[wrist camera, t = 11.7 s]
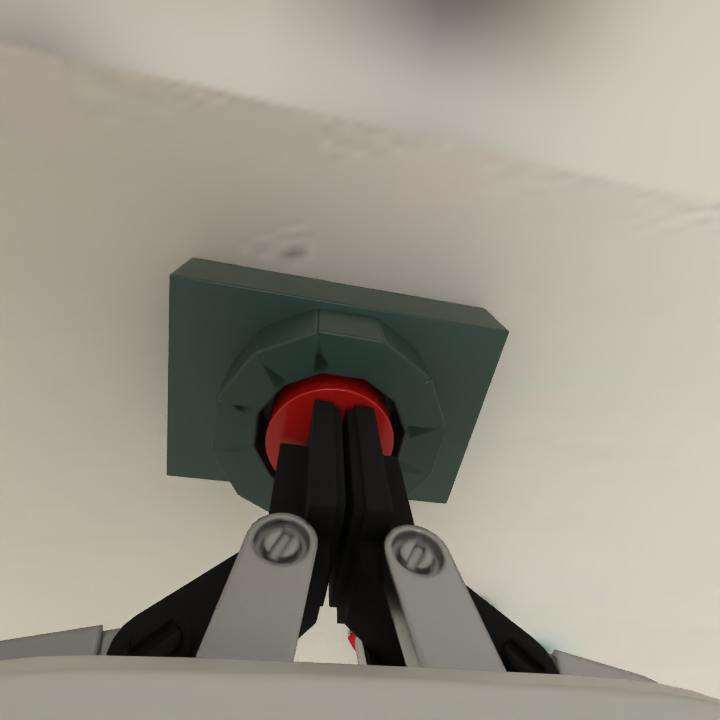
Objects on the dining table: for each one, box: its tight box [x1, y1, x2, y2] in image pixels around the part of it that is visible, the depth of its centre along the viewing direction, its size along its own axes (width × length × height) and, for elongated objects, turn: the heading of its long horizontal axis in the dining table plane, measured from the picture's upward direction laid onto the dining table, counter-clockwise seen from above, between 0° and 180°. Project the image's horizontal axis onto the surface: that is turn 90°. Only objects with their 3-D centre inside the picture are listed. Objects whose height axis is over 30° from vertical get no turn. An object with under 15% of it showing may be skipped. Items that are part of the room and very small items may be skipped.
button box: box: [167, 258, 509, 512], centre depth 14 cm, size 10×7×4 cm
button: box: [265, 373, 394, 470], centre depth 13 cm, size 4×4×2 cm
